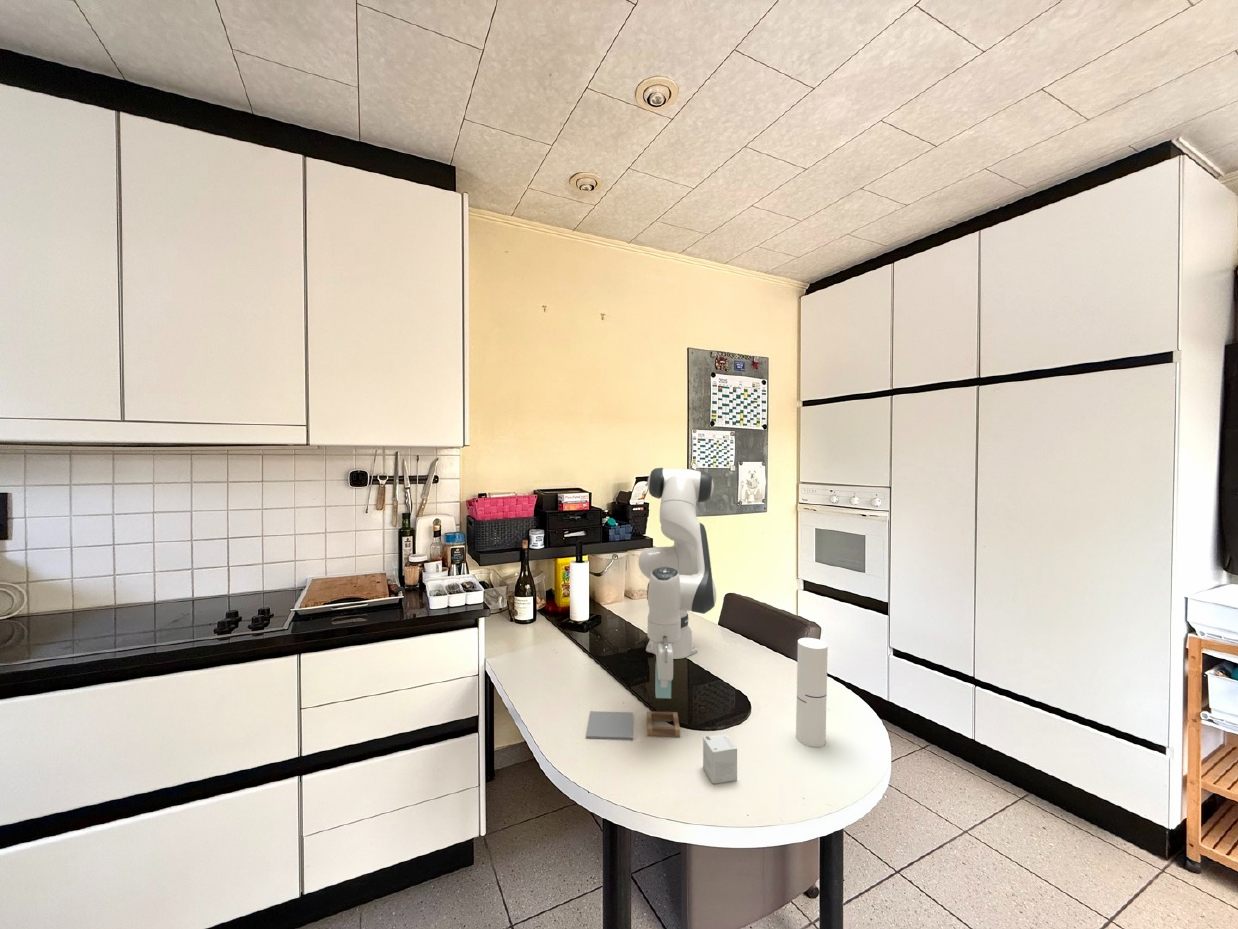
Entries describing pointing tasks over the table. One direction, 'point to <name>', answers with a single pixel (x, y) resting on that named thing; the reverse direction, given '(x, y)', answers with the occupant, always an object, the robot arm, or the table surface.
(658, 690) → the teal block
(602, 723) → the mat
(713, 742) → the skincare box
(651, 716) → the pocket
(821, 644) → the cylindrical container
